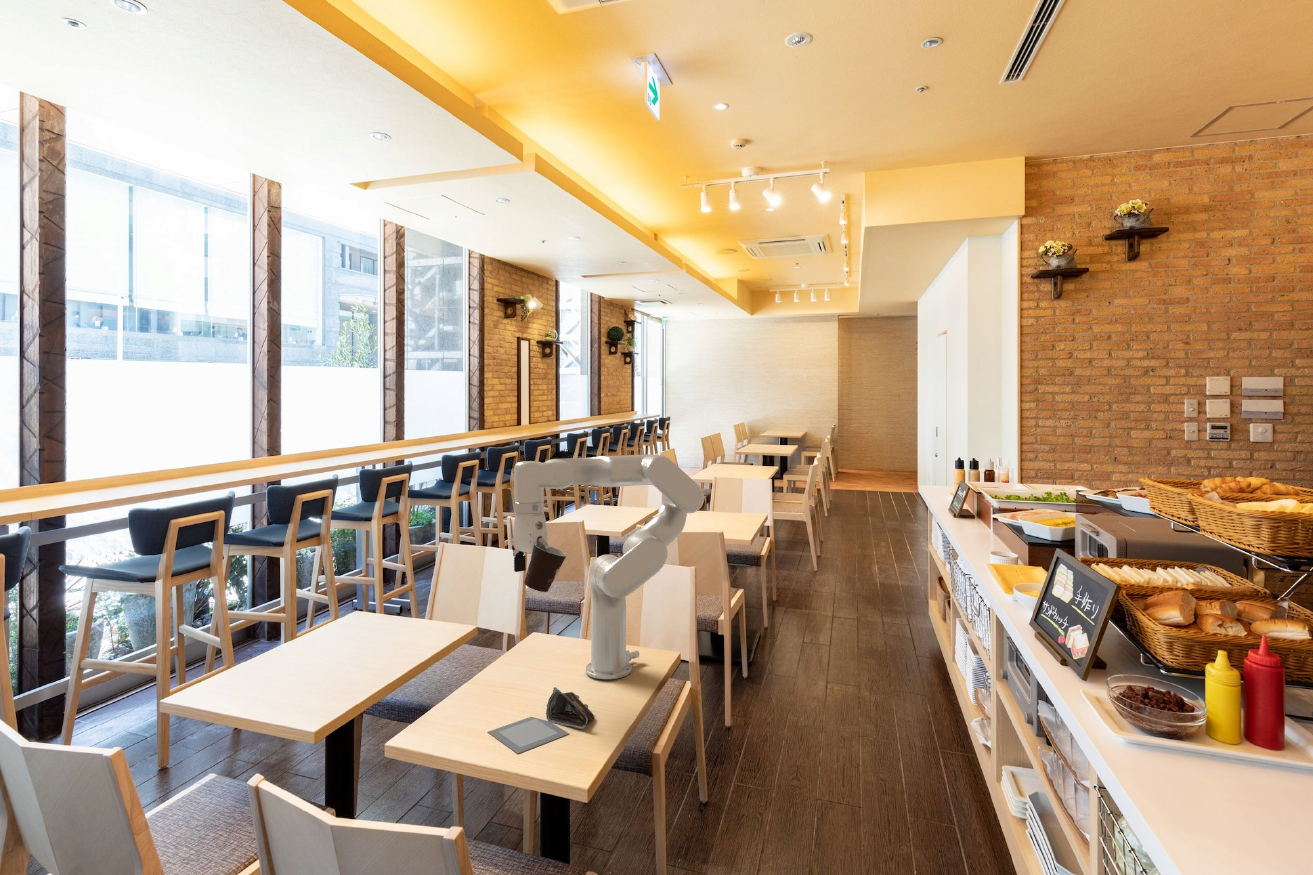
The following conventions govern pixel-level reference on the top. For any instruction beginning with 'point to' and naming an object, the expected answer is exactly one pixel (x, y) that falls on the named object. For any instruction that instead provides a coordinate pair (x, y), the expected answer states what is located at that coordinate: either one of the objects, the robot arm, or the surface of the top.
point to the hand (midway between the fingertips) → (529, 574)
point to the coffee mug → (543, 568)
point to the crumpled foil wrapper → (567, 702)
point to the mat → (527, 734)
